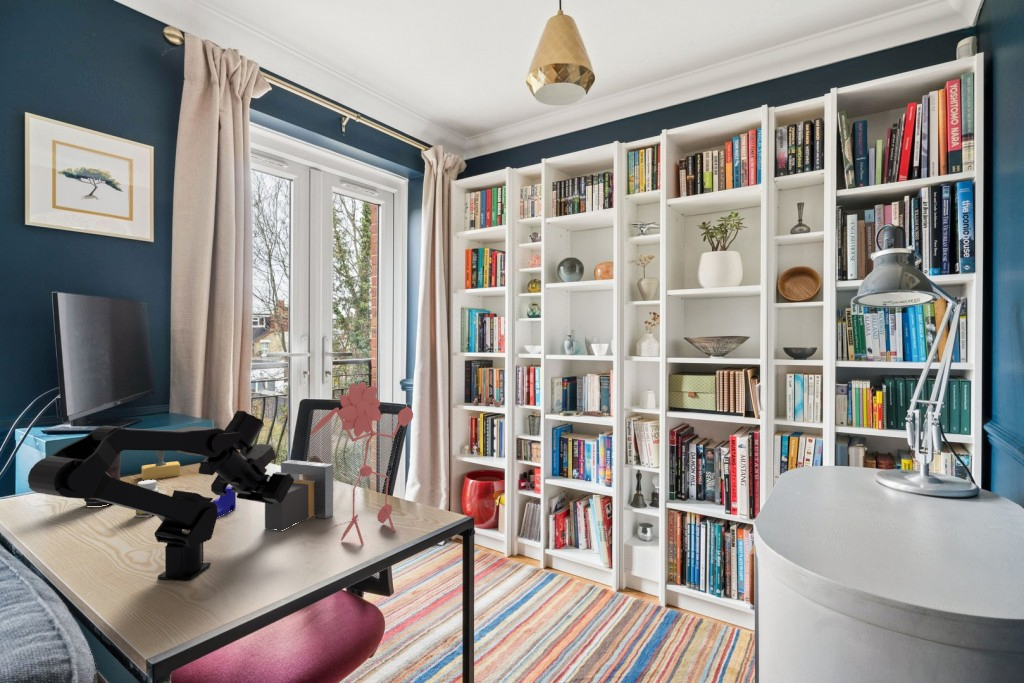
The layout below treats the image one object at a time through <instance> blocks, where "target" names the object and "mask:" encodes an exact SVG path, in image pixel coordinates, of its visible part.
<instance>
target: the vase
mask: <svg viewBox="0 0 1024 683" xmlns="http://www.w3.org/2000/svg"><path fill="white" fill-rule="evenodd" d="M307 462H316V463H324V462H323V461H322V460H321V458H320V456H319V455H311V456H310V457H309V459H308V460H307ZM301 476H302V480H308V481H315V476H311V475H302V474H301Z"/></svg>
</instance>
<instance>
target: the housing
mask: <svg viewBox="0 0 1024 683" xmlns="http://www.w3.org/2000/svg"><path fill="white" fill-rule="evenodd" d="M280 472H282V473H290V474H291V475H292V476H293V477H294V481H297V480H300V475H301V476H302V475H311V476H315V516H314V518H315V517H318V518H317V519H321V518H327V519H328V518H330V517H332V516H334V463H326V462H325V463H324V462H323V463H316V462H308V461H303V460H294V459H288V460H284V461H281V462H280ZM331 515H332V516H331ZM329 516H330V517H329Z"/></svg>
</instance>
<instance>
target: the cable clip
mask: <svg viewBox="0 0 1024 683" xmlns="http://www.w3.org/2000/svg"><path fill="white" fill-rule="evenodd" d="M231 489H232V486H227V487H226V489H225V491H226V492H227V494H226V495H225V496H221V495H219V497H218V498H216V499H214V500H212V502H214V503H215V504H216V505H217V510H218V516H217V517H218V518H220V517H222V516H224V515H226V514H228V513H227V512H229V511H231V510H233V509H235V510H236V507H237V505H236V503H237V502H236V498H237V495H236V493H237V492H233V491H232V490H231ZM233 511H234V510H233ZM231 512H232V511H231ZM225 513H226V514H225ZM229 513H230V512H229ZM223 514H224V515H223ZM221 515H222V516H221ZM219 516H220V517H219Z"/></svg>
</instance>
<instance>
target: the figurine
mask: <svg viewBox="0 0 1024 683" xmlns="http://www.w3.org/2000/svg"><path fill="white" fill-rule="evenodd" d="M366 384H367V383H366V382H363V381H362V382H360V383H359V384H358V385H356V383H350V386H349V388H348V395H346V394H341V396H340V397H339V401H340V405H341V407H342V408H341V409H339V407H335V408H334V409H332V410H330V411H329V412H328V413H327V414H326V415H325V416H323V418H321V420H319V422H318V423H317V424H316V425H315V426H314V428H313V430H312V431H311V432H310V436H312V435H313V434H315V433H316V432H318V431H319V430H321V429H322V428H323V427H324V426H325V425H326V424H328V422H330V420H331V419H332V418H333V417H334V416H335V414H337V415H338V418H339V420H340V421H341V422H342V425H341V428H342V430H343V431H346V433H347V435H348V436H349V438H350V440H351V442H352V443H353V442H355V441H358V440H362V439H364V438H366V437H369V438H368V439H367V440H366V442H365V444H366V445H365V452H364V459H363V460H364V461H363V464H362V466H361V467H360V468H359V475H358V478H357V479H356V482H355V484H354V486H353V488H352V517H351V520H350V521H348V523H349V524H348V525H347V527H346V529H345V530H344V532H343V533H342V536H341V539H340V541H341V542H343V540H344V538H345V537H346V536H347V535H348V533H349V532H350V530H351V529H352V528H353V526H354V525H355V528H356V532H357V535H358V538H359V542H360V545H364V543H365V542H364V540H363V537H362V534H361V529H360V528H359V525H358V524H359V523H358V518H359V514H358V513H356V514H355V495H356V493H355V489H356V488H357V487H358V486H357V485H358V483H359V481H360V479H361V476H362V477H363V478H365V477H366V478H367V477H369V476H371V475H372V474H374V475H377V476H380V477H383V478H386V486H385V487H386V490H385V501H384V505H383V506H382V507H381V508H380V510H379V511H378V513H377V516H376V517H377V521H378V523H381V524H384V523H385V522H386V521H387V519H388V522H389V525H390V528H391V530H392V532H395V531H396V530H395V526H394V524H393V521H392V518H391V514H392V512H393V507H392V504H391V503H388V492H389V490H388V489H389V481H390V480H389V476H387V475H384V474H381V473H378V472H376V471H373V469H372V467H371V466H370V465H369V464H367V459H368V451H369V446H370V445H369V444H370V441H371V440H372V437H374V436H378V437H379V436H380V437H385V438H391V439H394V438H395V436H396V435H397V433H398V430H399V429H400V427H401V426H402V427H406V426H407V425H408V424H410V423H411V422H412V420H413V418H414V412H413V410H412V409H411V408H409V406H405V408H403V409H401V410H400V411H399V413H398V414H397V417H396V418H397V421H398V424H397V426H396V428H395V430H394V432H393V433H392V435H391V434H386V433H380V432H375V431H374V429H373V421H375V422H379V421H380V420H382V413H381V410H380V409H379V408H380V405H381V401H380V400H379V399H378V398H377V397H376V396H377V394H378V393H377V392H378V387H376V386H372V385H371V386H369V387H367V385H366ZM350 430H353V434H354V436H355V438H354V437H353V435H352V434H351V432H350ZM363 433H366V434H363ZM362 434H363V435H362ZM346 522H347V521H346ZM346 522H344V524H346ZM410 522H411V523H412V524H415V522H414V521H410ZM340 524H341V523H339V524H335V527H337V525H338V526H340Z"/></svg>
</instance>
